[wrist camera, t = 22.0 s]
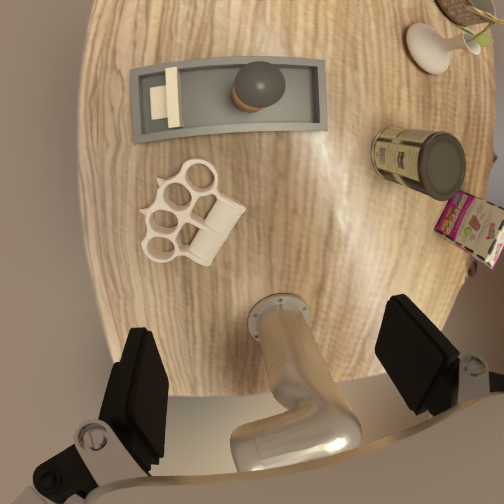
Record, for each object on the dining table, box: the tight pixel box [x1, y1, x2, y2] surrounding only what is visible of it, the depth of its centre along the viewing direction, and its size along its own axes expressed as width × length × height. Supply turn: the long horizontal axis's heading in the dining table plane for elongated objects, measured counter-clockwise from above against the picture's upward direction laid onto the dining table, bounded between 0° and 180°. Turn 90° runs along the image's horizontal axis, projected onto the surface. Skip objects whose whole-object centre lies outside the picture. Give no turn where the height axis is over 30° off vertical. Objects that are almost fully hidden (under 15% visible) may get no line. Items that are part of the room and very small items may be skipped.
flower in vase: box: [406, 5, 504, 75], centre depth 25 cm, size 13×11×25 cm
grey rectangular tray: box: [130, 56, 328, 144], centre depth 36 cm, size 11×28×4 cm, turn 93°
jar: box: [231, 61, 286, 113], centre depth 32 cm, size 6×6×10 cm
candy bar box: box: [434, 190, 504, 269], centre depth 44 cm, size 11×5×16 cm, turn 153°
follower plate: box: [150, 67, 184, 128], centre depth 33 cm, size 8×4×5 cm, turn 3°
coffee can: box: [371, 127, 466, 201], centre depth 38 cm, size 10×10×14 cm
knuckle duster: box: [139, 157, 246, 266], centre depth 43 cm, size 3×18×15 cm
